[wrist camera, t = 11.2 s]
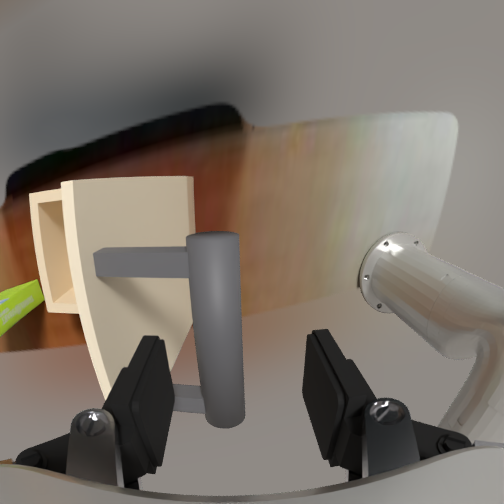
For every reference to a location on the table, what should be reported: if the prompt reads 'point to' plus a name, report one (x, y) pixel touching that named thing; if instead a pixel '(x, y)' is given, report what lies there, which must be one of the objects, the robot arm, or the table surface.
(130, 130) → the table surface
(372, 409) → the robot arm
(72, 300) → the cream hinged door cabinet
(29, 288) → the box
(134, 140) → the table surface
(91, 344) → the cream panel with handle
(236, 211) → the table surface
